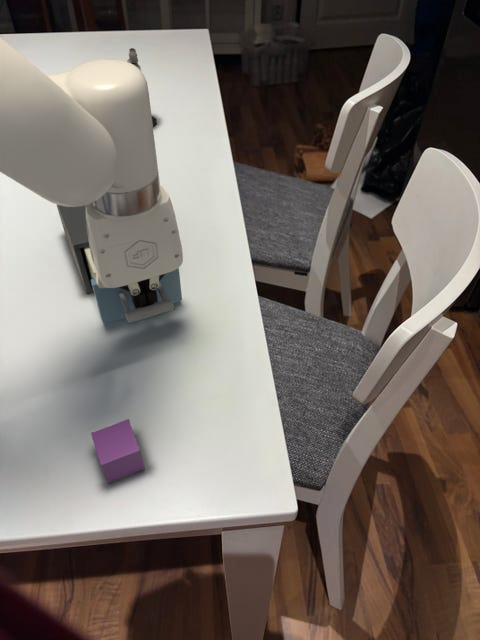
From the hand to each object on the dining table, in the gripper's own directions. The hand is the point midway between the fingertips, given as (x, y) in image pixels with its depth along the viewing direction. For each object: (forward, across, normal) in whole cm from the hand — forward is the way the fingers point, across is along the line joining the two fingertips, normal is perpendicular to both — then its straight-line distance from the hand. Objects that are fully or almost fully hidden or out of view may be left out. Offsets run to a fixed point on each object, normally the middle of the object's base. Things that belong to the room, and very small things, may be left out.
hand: (146, 307), depth 69 cm
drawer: (+3, 0, +6) cm, 7 cm away
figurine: (+4, +16, +56) cm, 59 cm away
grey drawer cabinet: (+4, 0, +17) cm, 18 cm away
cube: (+4, -9, -18) cm, 20 cm away
